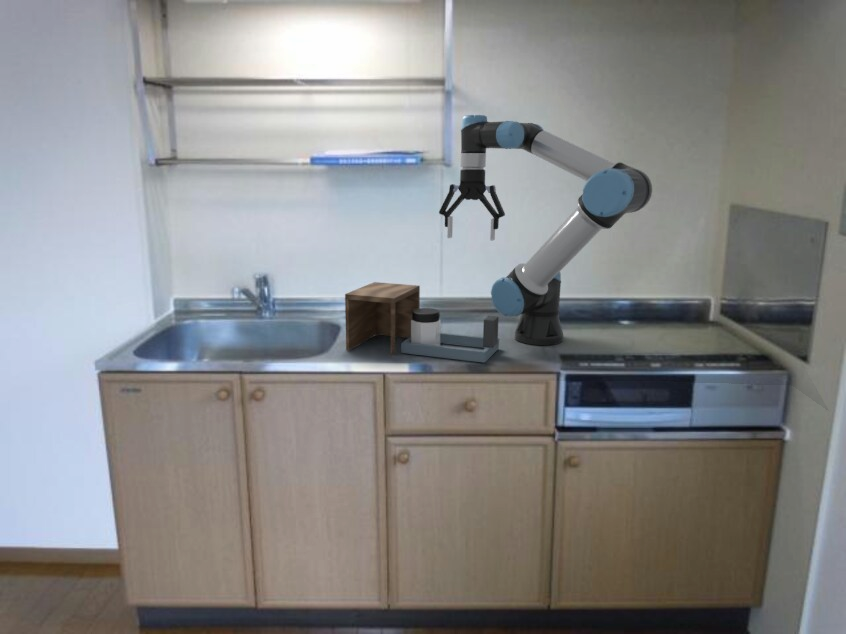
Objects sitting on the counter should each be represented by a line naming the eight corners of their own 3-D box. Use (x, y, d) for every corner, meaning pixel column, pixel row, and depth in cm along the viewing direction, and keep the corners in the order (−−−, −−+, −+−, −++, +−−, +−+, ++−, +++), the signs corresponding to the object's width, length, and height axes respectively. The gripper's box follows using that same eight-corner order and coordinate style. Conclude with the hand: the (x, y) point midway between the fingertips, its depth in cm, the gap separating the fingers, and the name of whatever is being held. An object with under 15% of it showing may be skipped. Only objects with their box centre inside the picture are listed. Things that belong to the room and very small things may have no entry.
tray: (501, 348, 201) (502, 312, 199) (487, 363, 187) (489, 324, 185) (420, 339, 210) (420, 305, 208) (401, 352, 196) (401, 316, 194)
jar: (434, 355, 195) (434, 315, 192) (407, 352, 198) (408, 313, 195) (443, 347, 203) (443, 308, 201) (417, 344, 206) (417, 306, 203)
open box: (419, 338, 213) (419, 285, 209) (393, 355, 195) (393, 298, 191) (375, 333, 219) (374, 282, 215) (346, 349, 200) (345, 294, 196)
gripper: (516, 169, 202) (513, 239, 207) (437, 167, 209) (436, 235, 215) (511, 169, 195) (508, 242, 200) (429, 168, 203) (428, 238, 208)
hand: (470, 239), depth 207 cm, fingers open, 13 cm apart
